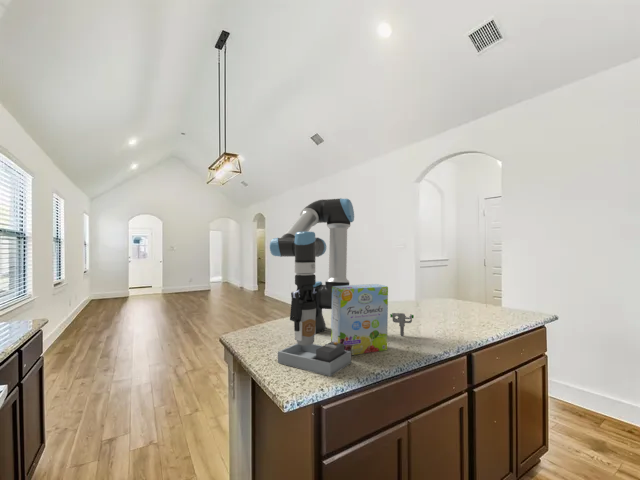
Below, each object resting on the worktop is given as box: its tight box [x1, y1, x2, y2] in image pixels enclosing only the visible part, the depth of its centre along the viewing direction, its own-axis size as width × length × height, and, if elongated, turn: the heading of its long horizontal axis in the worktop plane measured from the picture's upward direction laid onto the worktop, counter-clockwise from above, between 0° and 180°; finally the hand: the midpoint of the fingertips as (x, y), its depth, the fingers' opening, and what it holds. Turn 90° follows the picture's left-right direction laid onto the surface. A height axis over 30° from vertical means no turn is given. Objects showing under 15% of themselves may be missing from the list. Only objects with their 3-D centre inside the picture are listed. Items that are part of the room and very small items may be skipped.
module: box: [316, 341, 344, 363], centre depth 111 cm, size 5×10×7 cm, turn 147°
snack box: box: [330, 283, 389, 356], centre depth 127 cm, size 22×9×26 cm, turn 113°
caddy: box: [277, 342, 352, 377], centre depth 115 cm, size 22×14×4 cm, turn 57°
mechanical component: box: [389, 312, 414, 337], centre depth 147 cm, size 3×10×10 cm, turn 79°
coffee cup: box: [296, 300, 317, 345], centre depth 117 cm, size 8×8×15 cm
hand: (305, 337), depth 117 cm, fingers closed on coffee cup, 7 cm apart
